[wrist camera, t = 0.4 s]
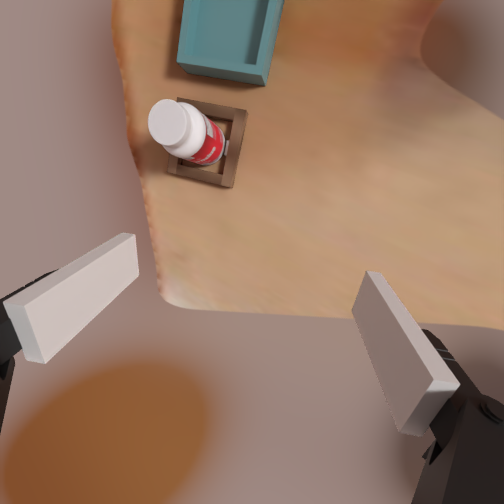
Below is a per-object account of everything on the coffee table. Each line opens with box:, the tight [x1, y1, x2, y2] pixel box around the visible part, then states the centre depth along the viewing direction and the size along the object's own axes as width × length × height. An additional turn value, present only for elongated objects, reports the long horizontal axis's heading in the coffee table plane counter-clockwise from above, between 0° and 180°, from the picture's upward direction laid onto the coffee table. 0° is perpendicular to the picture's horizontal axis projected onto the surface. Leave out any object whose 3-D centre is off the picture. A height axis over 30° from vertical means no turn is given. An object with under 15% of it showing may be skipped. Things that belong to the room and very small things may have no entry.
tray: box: [176, 0, 284, 86], centre depth 32 cm, size 12×12×3 cm
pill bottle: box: [148, 99, 225, 165], centre depth 32 cm, size 6×6×11 cm
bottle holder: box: [167, 97, 248, 188], centre depth 36 cm, size 11×11×1 cm
